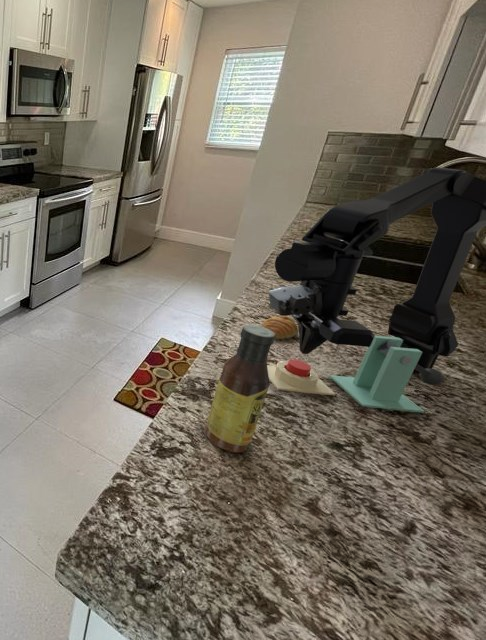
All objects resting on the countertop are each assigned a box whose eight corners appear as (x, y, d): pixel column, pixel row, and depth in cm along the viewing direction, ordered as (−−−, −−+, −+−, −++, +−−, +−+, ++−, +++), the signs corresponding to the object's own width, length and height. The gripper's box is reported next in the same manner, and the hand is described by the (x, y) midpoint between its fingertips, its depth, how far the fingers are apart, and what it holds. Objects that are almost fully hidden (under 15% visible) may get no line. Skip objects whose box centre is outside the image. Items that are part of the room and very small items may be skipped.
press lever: (422, 381, 77) (437, 370, 76) (437, 391, 74) (452, 380, 73) (373, 349, 76) (387, 337, 75) (386, 358, 73) (401, 346, 72)
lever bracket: (382, 385, 81) (406, 333, 77) (422, 416, 73) (451, 360, 69) (327, 379, 82) (348, 328, 78) (360, 410, 74) (386, 354, 70)
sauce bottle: (247, 461, 62) (287, 348, 55) (202, 444, 65) (234, 334, 58) (248, 435, 67) (284, 328, 60) (205, 420, 70) (235, 316, 63)
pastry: (285, 346, 94) (290, 331, 93) (252, 334, 99) (257, 320, 98) (298, 334, 100) (303, 320, 98) (266, 323, 104) (270, 310, 103)
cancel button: (301, 367, 81) (303, 360, 81) (312, 378, 78) (315, 370, 77) (281, 365, 82) (284, 358, 81) (292, 376, 78) (295, 368, 78)
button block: (307, 373, 84) (312, 361, 83) (333, 399, 77) (339, 385, 76) (255, 368, 85) (259, 356, 84) (276, 393, 78) (281, 380, 77)
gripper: (257, 257, 82) (237, 325, 88) (316, 295, 65) (286, 377, 71) (317, 261, 81) (292, 330, 87) (393, 301, 64) (356, 384, 69)
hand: (303, 352), depth 78 cm, fingers closed
